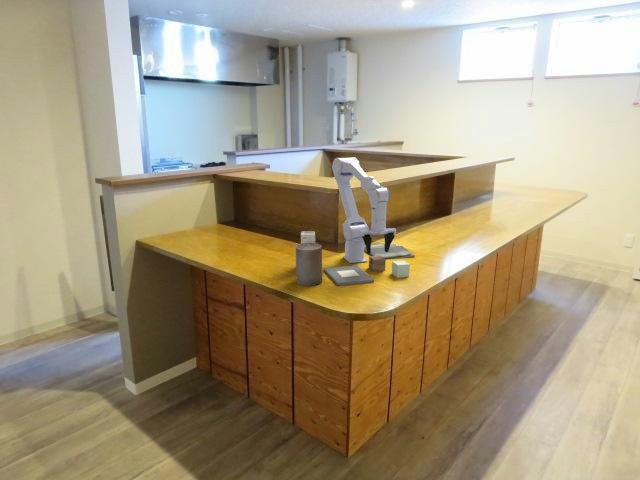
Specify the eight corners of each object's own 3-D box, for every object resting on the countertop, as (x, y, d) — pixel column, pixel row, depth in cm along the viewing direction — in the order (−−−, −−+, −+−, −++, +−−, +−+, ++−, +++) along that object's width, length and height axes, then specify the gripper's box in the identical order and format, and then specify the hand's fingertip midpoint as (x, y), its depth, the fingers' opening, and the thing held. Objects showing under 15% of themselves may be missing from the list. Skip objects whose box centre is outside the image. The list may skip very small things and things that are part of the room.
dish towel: (376, 261, 193) (377, 254, 192) (362, 250, 210) (362, 244, 209) (416, 258, 198) (416, 251, 197) (398, 248, 215) (399, 241, 214)
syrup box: (314, 264, 187) (314, 230, 183) (315, 269, 181) (315, 234, 177) (301, 264, 187) (300, 230, 183) (300, 269, 181) (300, 234, 177)
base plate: (323, 270, 180) (323, 267, 179) (357, 267, 183) (357, 265, 183) (337, 285, 163) (337, 282, 163) (374, 282, 166) (374, 279, 166)
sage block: (391, 273, 176) (392, 261, 175) (403, 272, 178) (403, 260, 176) (397, 277, 172) (397, 265, 170) (409, 276, 173) (409, 264, 172)
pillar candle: (321, 277, 172) (321, 238, 168) (322, 285, 162) (322, 245, 159) (296, 277, 172) (295, 239, 168) (295, 286, 162) (294, 246, 158)
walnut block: (368, 268, 183) (369, 256, 182) (380, 267, 184) (380, 255, 183) (373, 271, 178) (373, 259, 177) (385, 270, 180) (385, 258, 178)
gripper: (365, 221, 171) (364, 256, 174) (400, 219, 174) (398, 253, 178) (358, 218, 177) (357, 251, 180) (392, 216, 181) (391, 248, 184)
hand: (377, 252), depth 180 cm, fingers open, 7 cm apart
